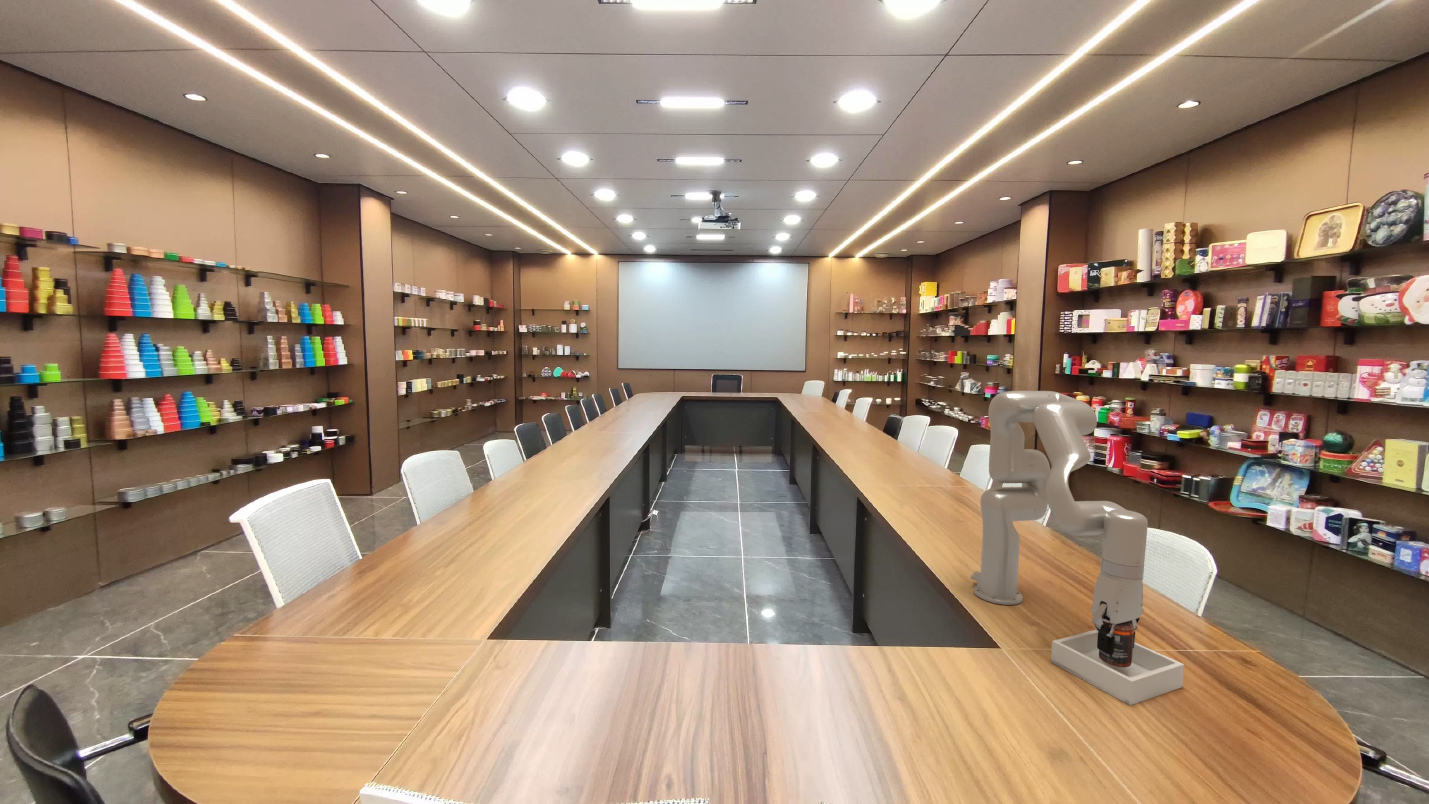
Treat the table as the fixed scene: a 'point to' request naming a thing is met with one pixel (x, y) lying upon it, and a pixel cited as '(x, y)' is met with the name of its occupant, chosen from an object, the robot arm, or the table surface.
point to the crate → (1118, 669)
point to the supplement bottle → (1120, 645)
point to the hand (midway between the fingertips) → (1115, 647)
